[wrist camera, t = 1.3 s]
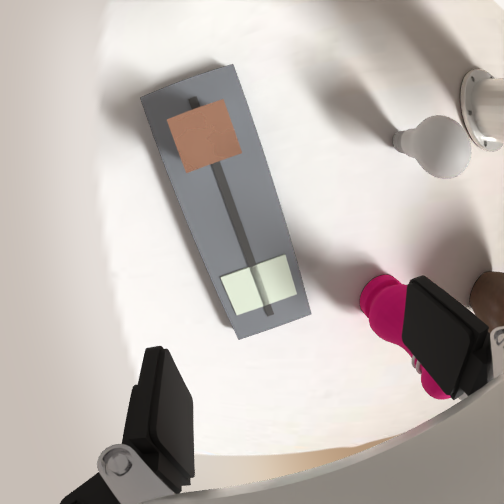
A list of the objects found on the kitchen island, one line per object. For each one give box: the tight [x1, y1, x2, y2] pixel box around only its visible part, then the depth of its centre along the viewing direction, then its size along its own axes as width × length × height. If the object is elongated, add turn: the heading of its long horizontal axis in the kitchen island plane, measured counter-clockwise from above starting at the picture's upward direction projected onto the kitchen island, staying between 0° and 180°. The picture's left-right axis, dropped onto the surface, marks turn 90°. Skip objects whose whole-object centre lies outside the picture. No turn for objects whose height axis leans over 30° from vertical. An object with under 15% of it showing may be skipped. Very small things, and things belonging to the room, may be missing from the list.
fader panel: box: [140, 64, 311, 340], centre depth 29 cm, size 9×28×2 cm, turn 18°
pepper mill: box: [360, 275, 467, 400], centre depth 27 cm, size 7×7×20 cm
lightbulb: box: [393, 115, 471, 179], centre depth 24 cm, size 6×6×11 cm
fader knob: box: [167, 99, 242, 173], centre depth 21 cm, size 4×4×7 cm
